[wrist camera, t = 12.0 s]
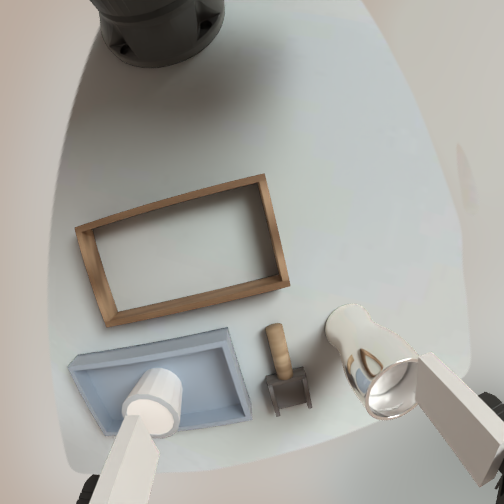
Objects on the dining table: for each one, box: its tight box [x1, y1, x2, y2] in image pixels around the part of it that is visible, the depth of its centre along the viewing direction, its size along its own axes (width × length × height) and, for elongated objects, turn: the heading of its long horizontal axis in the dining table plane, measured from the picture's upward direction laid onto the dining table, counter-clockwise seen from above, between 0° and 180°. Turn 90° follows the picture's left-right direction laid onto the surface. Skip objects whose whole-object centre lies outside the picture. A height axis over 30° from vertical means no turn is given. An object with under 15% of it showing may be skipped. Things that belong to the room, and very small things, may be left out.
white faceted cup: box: [122, 368, 183, 438], centre depth 34 cm, size 7×7×7 cm
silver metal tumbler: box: [325, 304, 419, 420], centre depth 31 cm, size 7×7×15 cm
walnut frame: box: [75, 173, 290, 327], centre depth 34 cm, size 12×21×3 cm, turn 104°
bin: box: [67, 327, 252, 436], centre depth 37 cm, size 12×21×4 cm, turn 104°
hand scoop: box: [265, 323, 312, 417], centre depth 38 cm, size 13×5×2 cm, turn 14°
